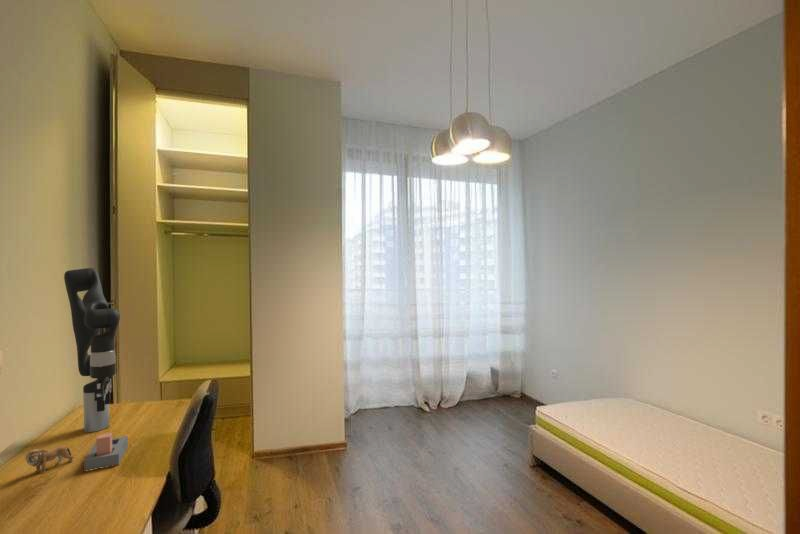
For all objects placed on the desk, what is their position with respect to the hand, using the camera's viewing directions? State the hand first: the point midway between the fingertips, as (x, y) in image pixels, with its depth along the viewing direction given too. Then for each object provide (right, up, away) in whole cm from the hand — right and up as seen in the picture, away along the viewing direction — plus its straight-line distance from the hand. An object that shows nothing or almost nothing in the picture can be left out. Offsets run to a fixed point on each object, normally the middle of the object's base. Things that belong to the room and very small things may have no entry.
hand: (103, 407), depth 146 cm
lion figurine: (-16, -21, -4) cm, 27 cm away
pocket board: (-1, -20, +4) cm, 21 cm away
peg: (0, -20, 0) cm, 20 cm away
